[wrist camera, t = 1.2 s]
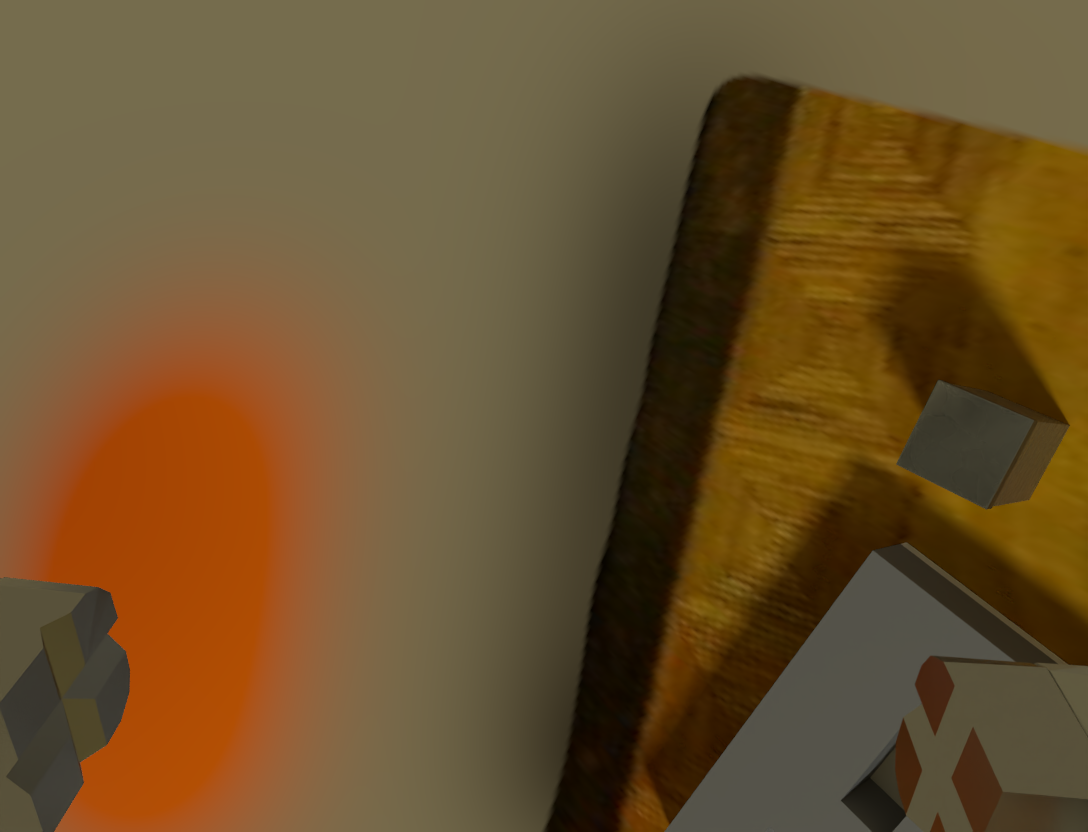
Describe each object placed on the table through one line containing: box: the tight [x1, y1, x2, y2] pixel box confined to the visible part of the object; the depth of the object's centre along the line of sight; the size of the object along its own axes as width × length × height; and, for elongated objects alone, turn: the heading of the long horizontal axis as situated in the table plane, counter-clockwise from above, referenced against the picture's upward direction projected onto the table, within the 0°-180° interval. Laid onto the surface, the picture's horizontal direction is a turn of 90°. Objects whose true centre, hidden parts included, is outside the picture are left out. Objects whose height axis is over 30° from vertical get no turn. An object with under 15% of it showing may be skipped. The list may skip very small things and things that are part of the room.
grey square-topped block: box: [897, 380, 1070, 509], centre depth 41 cm, size 4×4×8 cm
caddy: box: [665, 542, 1068, 832], centre depth 45 cm, size 14×24×5 cm, turn 145°
